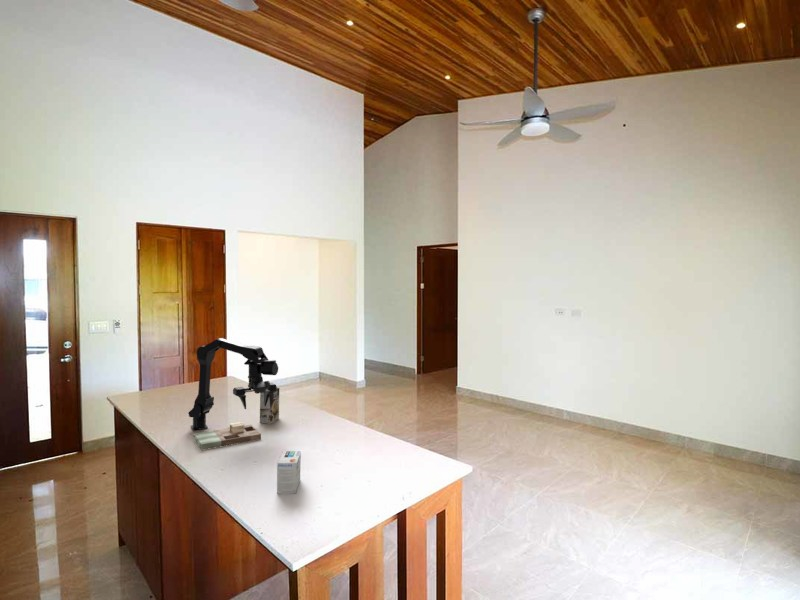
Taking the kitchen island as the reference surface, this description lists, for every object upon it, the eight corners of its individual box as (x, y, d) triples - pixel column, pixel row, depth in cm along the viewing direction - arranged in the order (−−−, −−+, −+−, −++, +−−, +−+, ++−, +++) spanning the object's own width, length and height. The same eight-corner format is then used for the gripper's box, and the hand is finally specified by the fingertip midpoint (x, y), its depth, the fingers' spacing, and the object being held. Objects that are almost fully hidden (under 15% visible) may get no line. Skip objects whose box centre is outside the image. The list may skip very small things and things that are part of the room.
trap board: (194, 439, 199) (194, 433, 199) (250, 429, 213) (251, 424, 213) (201, 450, 187) (201, 444, 187) (260, 439, 201) (260, 433, 201)
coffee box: (271, 423, 222) (271, 391, 222) (259, 422, 224) (259, 390, 223) (279, 418, 231) (280, 387, 231) (268, 417, 233) (268, 386, 232)
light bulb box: (281, 479, 162) (282, 450, 161) (300, 479, 162) (301, 450, 162) (276, 494, 151) (276, 462, 150) (296, 493, 152) (297, 462, 151)
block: (229, 430, 205) (229, 423, 205) (240, 428, 208) (241, 421, 207) (232, 433, 201) (232, 426, 200) (244, 431, 203) (244, 424, 203)
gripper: (240, 379, 195) (240, 415, 196) (281, 374, 206) (281, 408, 207) (232, 375, 204) (232, 409, 205) (272, 370, 215) (272, 402, 216)
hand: (255, 407), depth 208 cm, fingers open, 9 cm apart
